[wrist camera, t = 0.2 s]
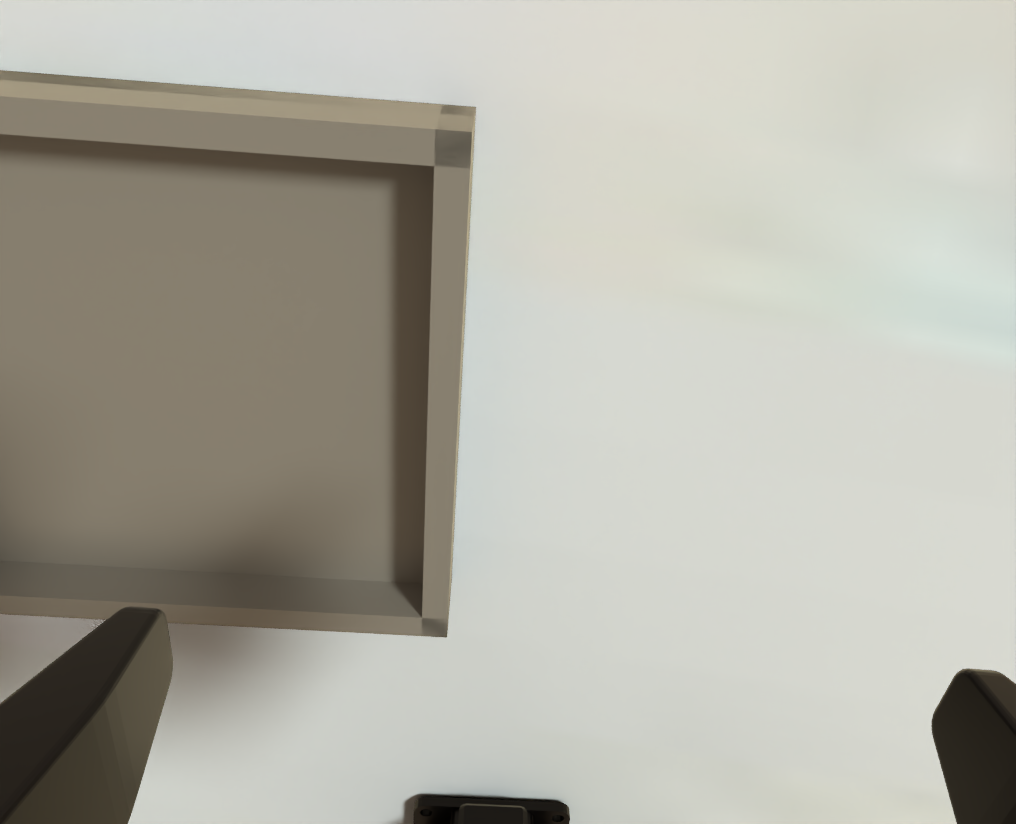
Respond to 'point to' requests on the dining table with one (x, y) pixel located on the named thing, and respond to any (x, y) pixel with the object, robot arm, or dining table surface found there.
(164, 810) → the dining table surface
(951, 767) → the robot arm
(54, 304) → the tray
